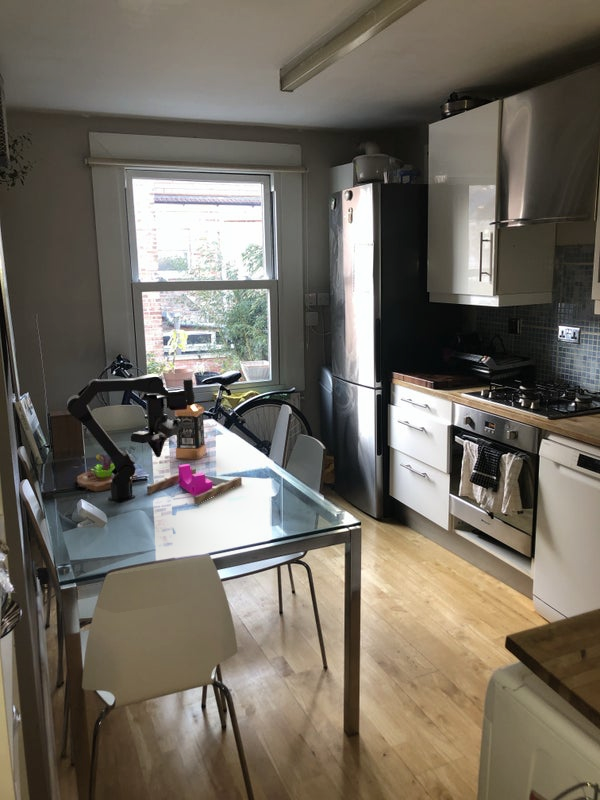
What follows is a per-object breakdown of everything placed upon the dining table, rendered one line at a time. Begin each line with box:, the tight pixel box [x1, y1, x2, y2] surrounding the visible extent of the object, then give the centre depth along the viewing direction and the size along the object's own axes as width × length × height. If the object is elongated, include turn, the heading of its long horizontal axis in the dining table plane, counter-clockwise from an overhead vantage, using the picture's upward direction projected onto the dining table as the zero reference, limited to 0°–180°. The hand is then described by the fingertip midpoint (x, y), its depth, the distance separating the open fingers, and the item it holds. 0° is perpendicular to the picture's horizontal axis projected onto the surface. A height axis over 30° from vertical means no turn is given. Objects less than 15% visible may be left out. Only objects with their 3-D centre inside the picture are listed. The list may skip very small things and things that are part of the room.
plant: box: [76, 453, 138, 492], centre depth 235 cm, size 20×20×11 cm
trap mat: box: [205, 475, 230, 486], centre depth 234 cm, size 6×19×1 cm, turn 58°
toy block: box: [177, 463, 214, 497], centre depth 225 cm, size 15×6×8 cm, turn 32°
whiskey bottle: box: [174, 378, 207, 460], centre depth 264 cm, size 10×10×32 cm
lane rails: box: [146, 467, 243, 505], centre depth 226 cm, size 24×23×3 cm
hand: (158, 457), depth 219 cm, fingers closed
